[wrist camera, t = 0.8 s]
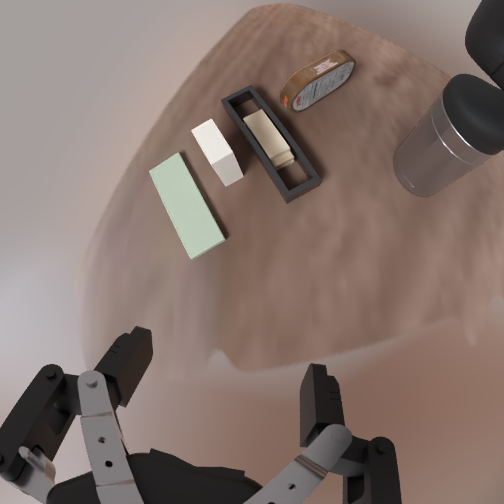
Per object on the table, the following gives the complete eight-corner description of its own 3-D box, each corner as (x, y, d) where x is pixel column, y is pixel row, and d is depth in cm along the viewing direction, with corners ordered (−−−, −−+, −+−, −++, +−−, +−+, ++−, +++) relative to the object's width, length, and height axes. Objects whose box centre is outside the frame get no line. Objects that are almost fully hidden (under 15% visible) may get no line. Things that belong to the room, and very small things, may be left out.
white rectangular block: (225, 146, 41) (211, 118, 32) (243, 176, 40) (232, 152, 31) (208, 156, 41) (191, 130, 32) (225, 186, 40) (210, 164, 32)
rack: (252, 93, 41) (251, 85, 38) (319, 185, 38) (321, 179, 36) (224, 108, 41) (220, 100, 39) (286, 203, 39) (286, 199, 36)
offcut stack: (262, 117, 41) (260, 107, 38) (294, 162, 39) (294, 154, 36) (244, 126, 41) (241, 116, 38) (275, 172, 40) (274, 164, 37)
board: (180, 154, 41) (178, 152, 40) (226, 240, 39) (224, 239, 38) (151, 173, 42) (149, 171, 41) (193, 259, 40) (190, 259, 39)
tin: (341, 72, 40) (347, 40, 31) (354, 82, 39) (362, 51, 31) (278, 111, 40) (275, 79, 32) (291, 123, 40) (291, 92, 31)
